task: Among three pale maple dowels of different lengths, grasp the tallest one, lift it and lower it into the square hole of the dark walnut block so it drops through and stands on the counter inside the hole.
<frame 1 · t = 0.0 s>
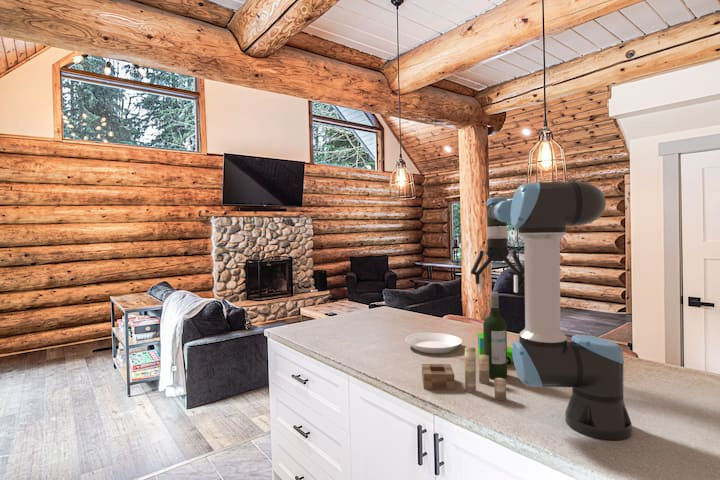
hand: (497, 292, 155), 28 cm above the worktop, fingers open, 13 cm apart
short dowel: (500, 399, 124), on the worktop
wine bottle: (495, 376, 144), on the worktop
medium dowel: (484, 381, 138), on the worktop
long dowel: (470, 390, 130), on the worktop
hole block: (437, 383, 137), on the worktop
toy car: (496, 361, 160), on the worktop
white plate: (433, 348, 180), on the worktop
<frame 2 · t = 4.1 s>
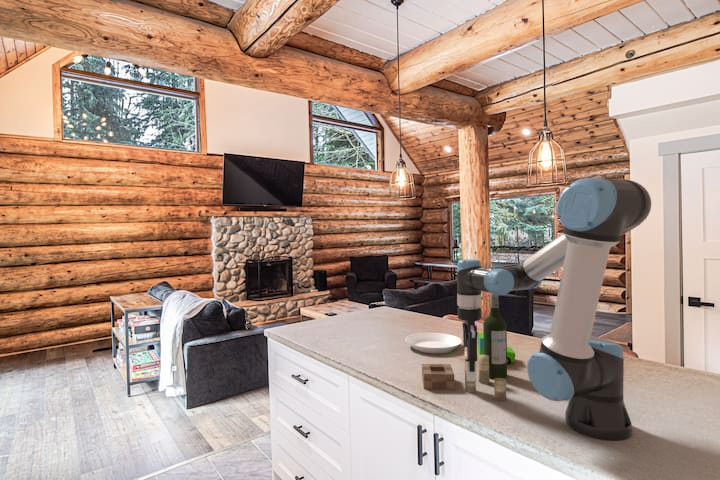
hand: (470, 378, 130), 4 cm above the worktop, fingers closed on long dowel, 3 cm apart
long dowel: (470, 390, 130), on the worktop, touching gripper
everything else where it was.
when the fingers open (7 cm above the worktop, at t = 8.7 s): long dowel stays where it is, resting in hole block.
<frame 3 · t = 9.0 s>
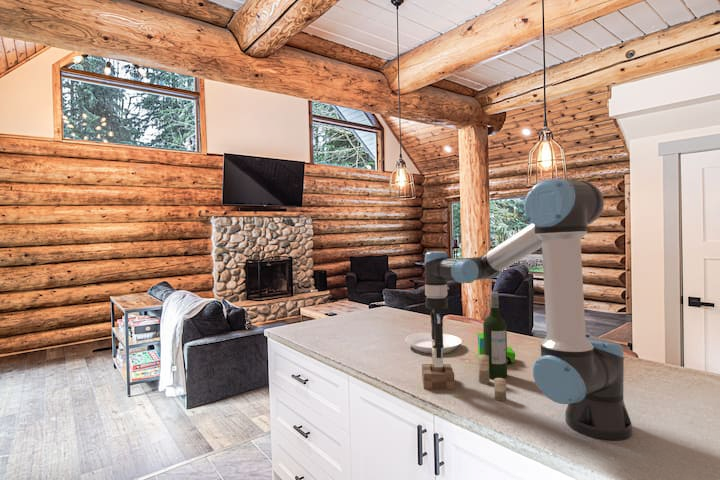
hand: (437, 362, 137), 7 cm above the worktop, fingers open, 8 cm apart
long dowel: (437, 383, 137), resting in hole block
everything else where it was.
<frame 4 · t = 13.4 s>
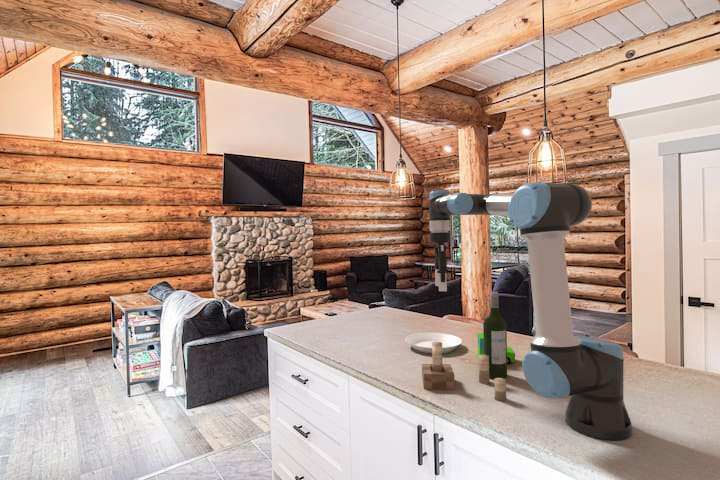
hand: (440, 288, 150), 31 cm above the worktop, fingers open, 13 cm apart
nothing on the worktop moved.
at the end: long dowel 0.1 cm off-centre on the hole block, point 0.0 cm above the hole block's base; long dowel tilted 0°; the gripper is holding nothing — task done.
